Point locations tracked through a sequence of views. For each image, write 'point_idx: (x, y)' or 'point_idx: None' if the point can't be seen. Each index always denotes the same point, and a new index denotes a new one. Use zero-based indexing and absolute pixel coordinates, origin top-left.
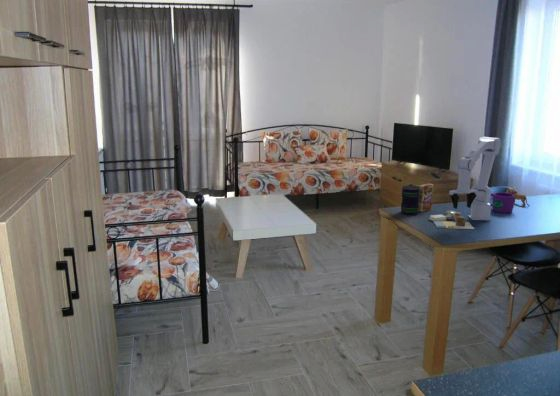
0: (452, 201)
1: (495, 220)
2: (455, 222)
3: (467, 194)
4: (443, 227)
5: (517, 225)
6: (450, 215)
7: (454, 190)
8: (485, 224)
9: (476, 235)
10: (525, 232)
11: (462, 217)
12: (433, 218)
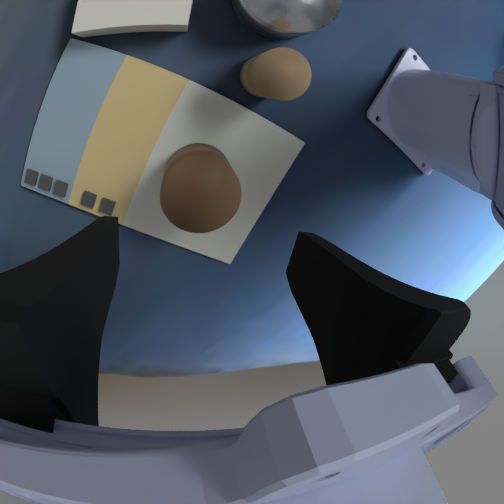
0: (54, 254)
1: (441, 181)
2: (206, 112)
3: (404, 331)
4: (51, 195)
5: (432, 266)
6: (248, 15)
7: (7, 488)
8: (359, 210)
9: (168, 332)
10: None
11: (213, 201)
12: (78, 18)
